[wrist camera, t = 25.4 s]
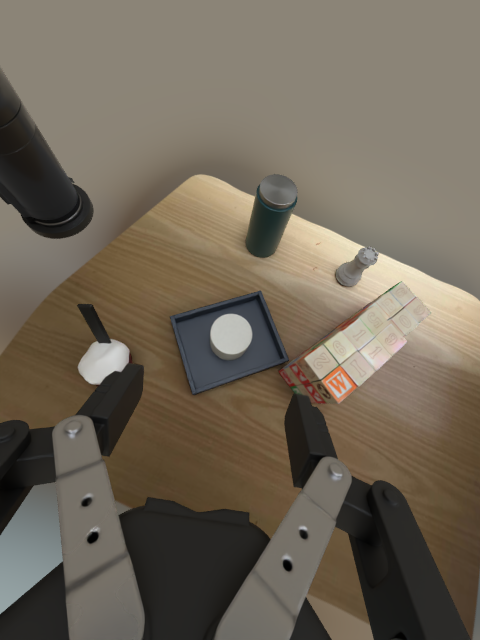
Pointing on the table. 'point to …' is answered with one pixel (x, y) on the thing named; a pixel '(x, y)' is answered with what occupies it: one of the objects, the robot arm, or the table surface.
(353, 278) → the rook chess piece
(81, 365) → the cocoa
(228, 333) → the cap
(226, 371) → the tray
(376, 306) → the stack of blocks
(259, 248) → the green metal cylinder
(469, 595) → the table surface
